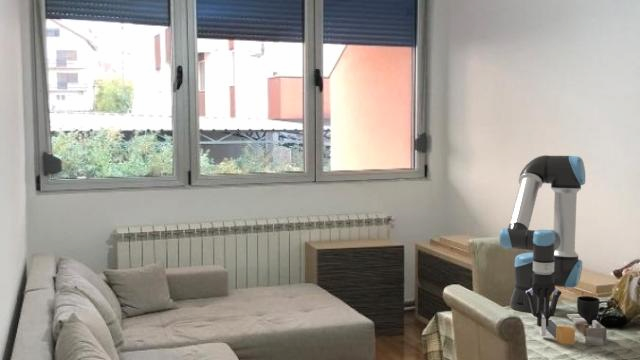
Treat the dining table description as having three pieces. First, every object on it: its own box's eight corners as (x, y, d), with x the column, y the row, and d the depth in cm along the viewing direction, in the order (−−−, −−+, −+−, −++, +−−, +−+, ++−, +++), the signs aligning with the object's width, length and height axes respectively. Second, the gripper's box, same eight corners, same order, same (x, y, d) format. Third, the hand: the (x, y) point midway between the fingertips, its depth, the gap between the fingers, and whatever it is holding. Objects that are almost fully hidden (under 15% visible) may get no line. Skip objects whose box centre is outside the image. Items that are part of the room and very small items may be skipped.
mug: (610, 327, 269) (611, 303, 268) (577, 324, 273) (577, 301, 272) (608, 320, 277) (608, 297, 276) (576, 318, 281) (576, 295, 280)
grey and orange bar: (544, 327, 271) (544, 314, 270) (557, 327, 271) (557, 314, 270) (560, 344, 252) (560, 330, 251) (574, 343, 252) (574, 330, 251)
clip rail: (565, 326, 271) (566, 311, 271) (583, 326, 271) (584, 311, 271) (586, 345, 250) (586, 329, 249) (606, 345, 250) (606, 328, 249)
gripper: (528, 275, 253) (527, 338, 255) (564, 274, 252) (563, 337, 255) (522, 270, 260) (522, 331, 263) (558, 269, 260) (556, 331, 262)
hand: (542, 334), depth 259 cm, fingers closed
